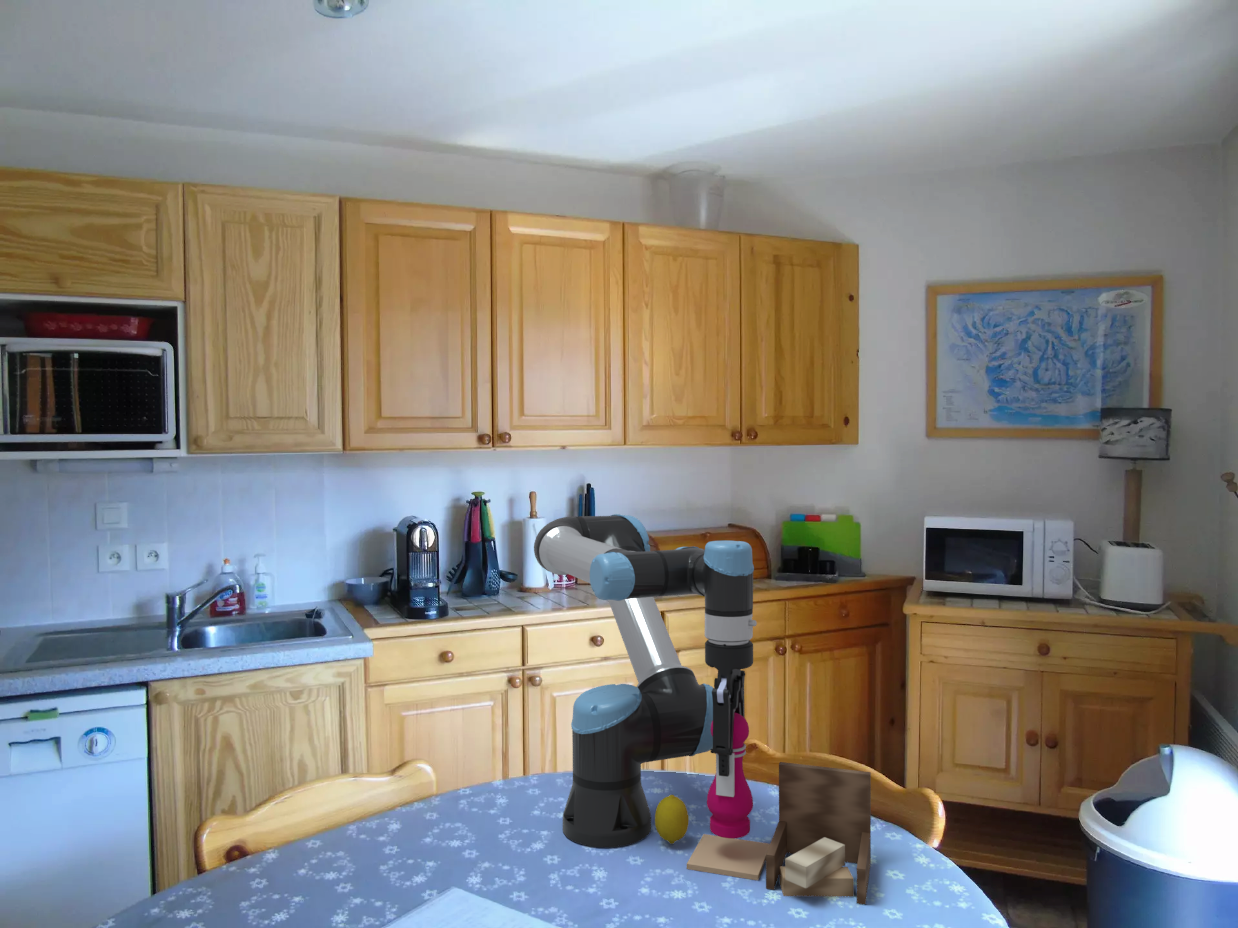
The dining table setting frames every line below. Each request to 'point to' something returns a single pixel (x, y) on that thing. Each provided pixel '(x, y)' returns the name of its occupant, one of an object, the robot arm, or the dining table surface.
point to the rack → (822, 817)
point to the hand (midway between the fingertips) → (729, 787)
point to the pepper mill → (734, 810)
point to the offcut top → (814, 862)
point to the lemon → (671, 819)
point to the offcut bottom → (821, 885)
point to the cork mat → (729, 857)
